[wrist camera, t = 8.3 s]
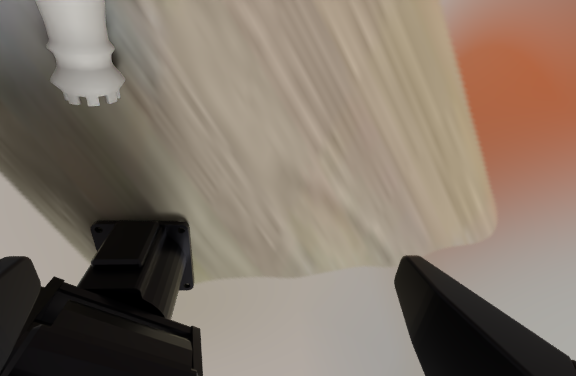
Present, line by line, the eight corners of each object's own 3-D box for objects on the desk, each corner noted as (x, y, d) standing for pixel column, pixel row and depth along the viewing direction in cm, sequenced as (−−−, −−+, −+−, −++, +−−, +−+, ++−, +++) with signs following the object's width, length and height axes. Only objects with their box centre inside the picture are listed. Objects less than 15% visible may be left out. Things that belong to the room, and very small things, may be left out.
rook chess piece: (-36, -122, 12) (35, 88, 16) (-37, -140, 9) (48, 119, 13) (97, -93, 14) (126, 82, 19) (126, -100, 12) (152, 106, 16)
